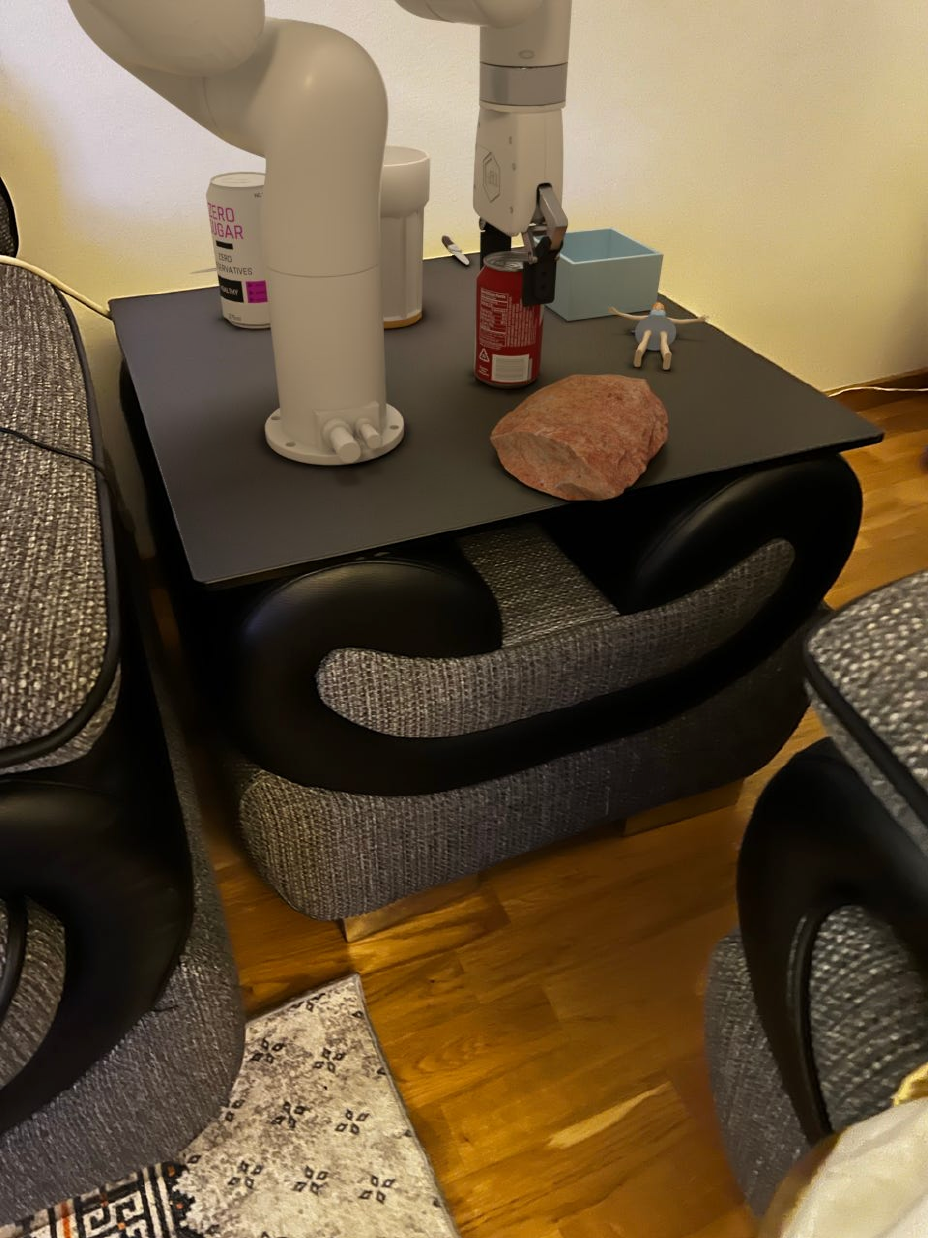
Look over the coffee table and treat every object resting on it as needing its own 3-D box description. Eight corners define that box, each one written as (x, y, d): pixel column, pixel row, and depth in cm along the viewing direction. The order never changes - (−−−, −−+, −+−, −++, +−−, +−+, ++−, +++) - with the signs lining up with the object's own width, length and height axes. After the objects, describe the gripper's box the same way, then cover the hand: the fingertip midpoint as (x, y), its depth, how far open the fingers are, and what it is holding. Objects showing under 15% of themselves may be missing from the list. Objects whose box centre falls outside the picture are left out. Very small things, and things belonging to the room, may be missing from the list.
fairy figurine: (601, 332, 95) (610, 283, 103) (596, 374, 98) (605, 323, 106) (712, 342, 93) (712, 292, 102) (704, 384, 97) (705, 331, 105)
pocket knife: (449, 241, 133) (436, 238, 132) (451, 234, 132) (438, 232, 132) (473, 269, 123) (459, 267, 122) (474, 263, 122) (460, 260, 121)
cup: (329, 302, 111) (317, 144, 100) (419, 296, 113) (417, 141, 102) (344, 335, 102) (333, 167, 91) (441, 328, 105) (442, 163, 94)
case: (655, 309, 111) (663, 253, 107) (567, 321, 107) (572, 263, 103) (606, 279, 120) (612, 226, 116) (523, 289, 116) (526, 235, 112)
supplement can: (301, 307, 109) (289, 171, 100) (284, 332, 103) (269, 189, 93) (236, 303, 110) (217, 168, 100) (214, 328, 103) (192, 186, 94)
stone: (558, 411, 92) (464, 485, 77) (560, 353, 89) (462, 419, 74) (694, 432, 86) (621, 516, 71) (701, 371, 83) (626, 446, 68)
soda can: (534, 395, 90) (543, 273, 83) (468, 389, 91) (471, 267, 84) (542, 369, 96) (551, 251, 88) (479, 363, 97) (483, 246, 89)
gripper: (445, 73, 82) (447, 265, 93) (527, 106, 70) (518, 323, 81) (519, 68, 85) (513, 256, 95) (611, 99, 72) (592, 311, 83)
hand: (515, 287), depth 88 cm, fingers open, 9 cm apart
